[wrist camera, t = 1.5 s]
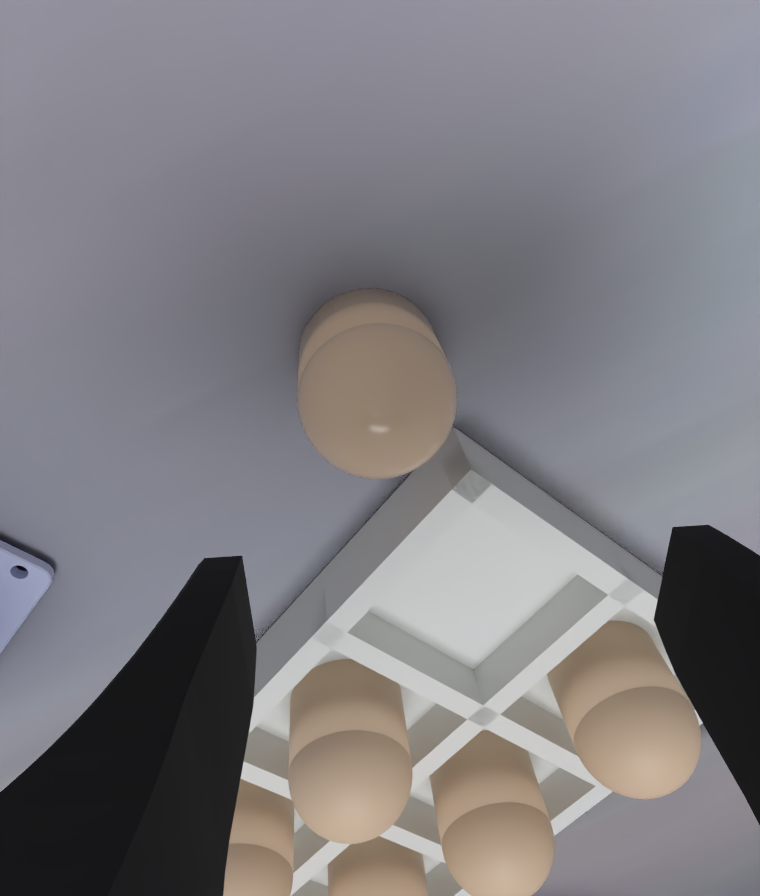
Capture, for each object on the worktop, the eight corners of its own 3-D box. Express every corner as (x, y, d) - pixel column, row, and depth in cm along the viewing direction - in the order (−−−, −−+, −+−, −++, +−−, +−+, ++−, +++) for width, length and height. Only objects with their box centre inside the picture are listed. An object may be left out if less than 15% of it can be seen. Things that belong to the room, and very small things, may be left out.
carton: (114, 797, 28) (70, 964, 23) (454, 426, 22) (500, 542, 16) (385, 898, 33) (399, 1055, 28) (727, 622, 27) (829, 759, 21)
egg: (271, 369, 20) (260, 453, 16) (356, 258, 19) (371, 316, 15) (379, 442, 22) (397, 537, 17) (465, 343, 20) (507, 419, 16)
